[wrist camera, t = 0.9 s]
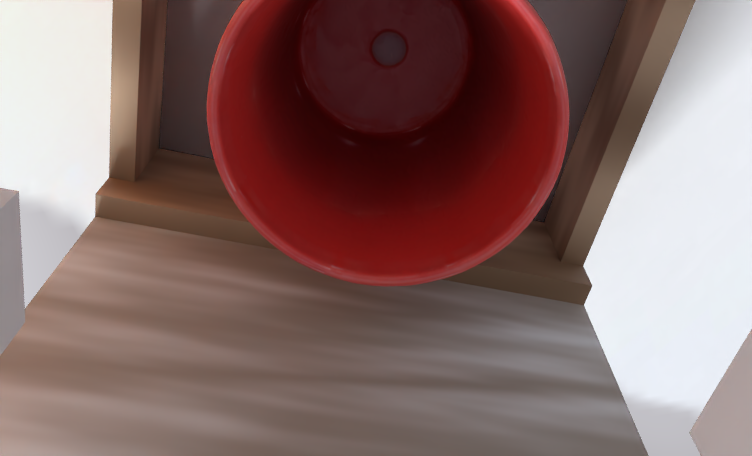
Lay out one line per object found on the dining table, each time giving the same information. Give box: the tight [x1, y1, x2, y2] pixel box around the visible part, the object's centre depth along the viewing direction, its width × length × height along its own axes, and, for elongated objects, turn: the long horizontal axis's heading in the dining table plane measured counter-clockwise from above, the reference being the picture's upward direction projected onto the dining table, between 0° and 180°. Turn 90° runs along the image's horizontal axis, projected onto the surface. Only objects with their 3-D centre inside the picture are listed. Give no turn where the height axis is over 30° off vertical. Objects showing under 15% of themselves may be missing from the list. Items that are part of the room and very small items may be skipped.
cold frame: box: [0, 0, 695, 456], centre depth 20 cm, size 17×20×20 cm
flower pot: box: [207, 0, 569, 287], centre depth 24 cm, size 11×11×10 cm
